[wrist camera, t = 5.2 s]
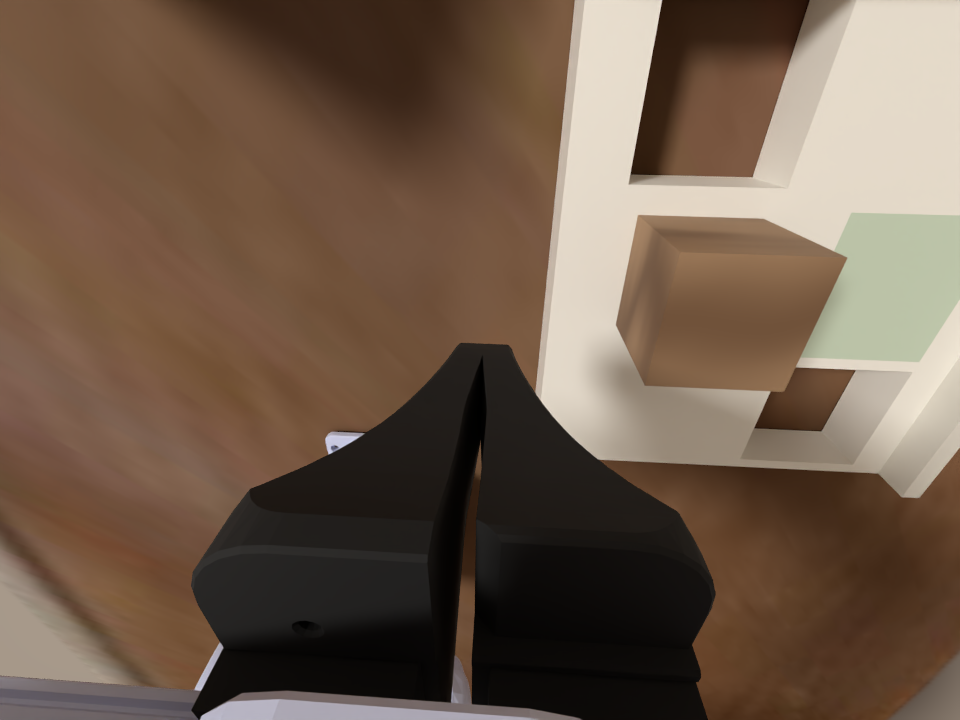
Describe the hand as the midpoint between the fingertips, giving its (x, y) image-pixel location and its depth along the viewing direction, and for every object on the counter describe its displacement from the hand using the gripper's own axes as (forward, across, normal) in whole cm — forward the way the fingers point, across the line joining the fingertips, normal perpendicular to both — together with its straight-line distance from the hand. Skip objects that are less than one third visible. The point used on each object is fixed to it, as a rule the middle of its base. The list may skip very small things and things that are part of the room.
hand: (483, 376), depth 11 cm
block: (+7, -8, 0) cm, 10 cm away
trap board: (+10, -12, 0) cm, 15 cm away
